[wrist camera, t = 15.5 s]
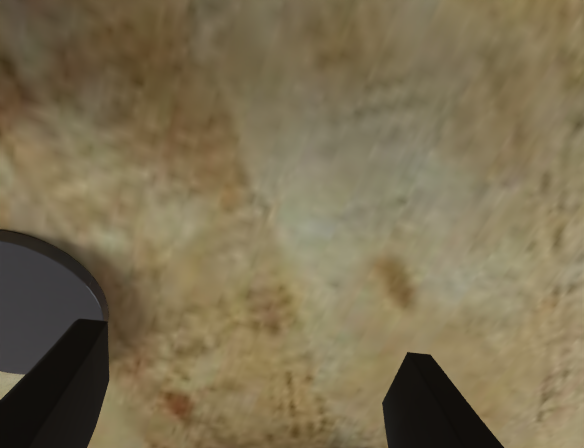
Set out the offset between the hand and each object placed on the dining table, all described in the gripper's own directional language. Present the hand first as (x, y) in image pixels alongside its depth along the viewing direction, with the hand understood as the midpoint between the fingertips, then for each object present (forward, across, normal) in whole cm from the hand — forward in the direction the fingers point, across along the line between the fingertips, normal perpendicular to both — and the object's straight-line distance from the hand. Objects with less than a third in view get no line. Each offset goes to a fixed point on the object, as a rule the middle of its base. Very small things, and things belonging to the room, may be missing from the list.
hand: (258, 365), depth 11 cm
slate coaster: (+10, +11, +9) cm, 17 cm away
